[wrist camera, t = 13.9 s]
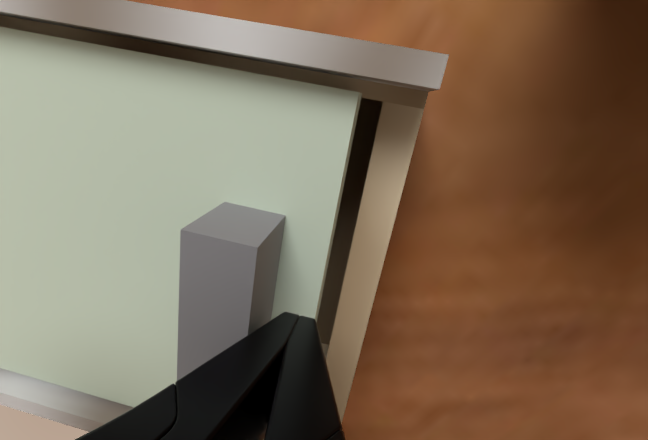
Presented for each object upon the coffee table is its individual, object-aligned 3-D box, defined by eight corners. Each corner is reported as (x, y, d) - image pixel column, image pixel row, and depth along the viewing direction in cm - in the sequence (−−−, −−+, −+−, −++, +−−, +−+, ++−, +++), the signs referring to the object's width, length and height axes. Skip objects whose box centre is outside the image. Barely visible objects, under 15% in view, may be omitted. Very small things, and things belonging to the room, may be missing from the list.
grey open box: (417, 77, 13) (448, 54, 6) (348, 355, 17) (326, 504, 11) (73, 17, 14) (-185, -52, 8) (94, 289, 19) (-57, 386, 12)
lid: (362, 93, 8) (349, 89, 5) (296, 426, 12) (269, 523, 9) (-130, 3, 10) (-342, -37, 7) (-47, 327, 14) (-159, 387, 11)
